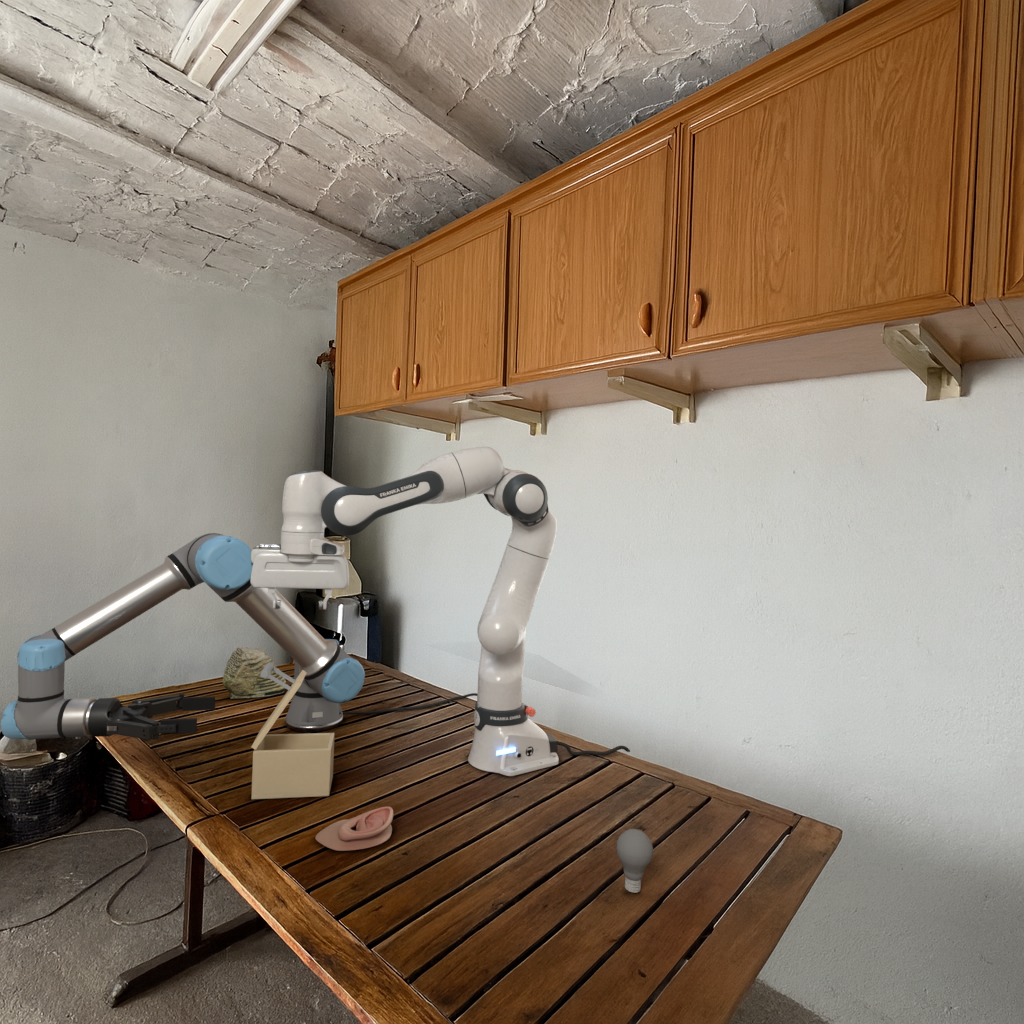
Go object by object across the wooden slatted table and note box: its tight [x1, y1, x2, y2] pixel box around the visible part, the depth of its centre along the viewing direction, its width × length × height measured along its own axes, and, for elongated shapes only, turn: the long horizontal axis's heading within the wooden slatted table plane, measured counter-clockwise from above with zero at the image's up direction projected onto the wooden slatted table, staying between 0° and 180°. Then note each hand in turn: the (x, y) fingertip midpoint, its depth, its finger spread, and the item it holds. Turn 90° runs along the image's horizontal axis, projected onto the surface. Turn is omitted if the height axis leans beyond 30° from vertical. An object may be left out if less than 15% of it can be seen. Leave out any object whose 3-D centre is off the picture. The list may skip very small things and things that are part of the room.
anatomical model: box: [315, 806, 394, 852], centre depth 119 cm, size 13×4×12 cm
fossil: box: [222, 646, 287, 699], centre depth 198 cm, size 9×18×15 cm, turn 132°
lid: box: [250, 663, 307, 750], centre depth 136 cm, size 16×10×8 cm
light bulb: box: [615, 828, 654, 894], centre depth 106 cm, size 6×6×10 cm
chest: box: [250, 732, 335, 800], centre depth 137 cm, size 16×10×10 cm, turn 101°
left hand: (206, 713), depth 134 cm, fingers open, 13 cm apart
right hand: (299, 608), depth 137 cm, fingers open, 8 cm apart
